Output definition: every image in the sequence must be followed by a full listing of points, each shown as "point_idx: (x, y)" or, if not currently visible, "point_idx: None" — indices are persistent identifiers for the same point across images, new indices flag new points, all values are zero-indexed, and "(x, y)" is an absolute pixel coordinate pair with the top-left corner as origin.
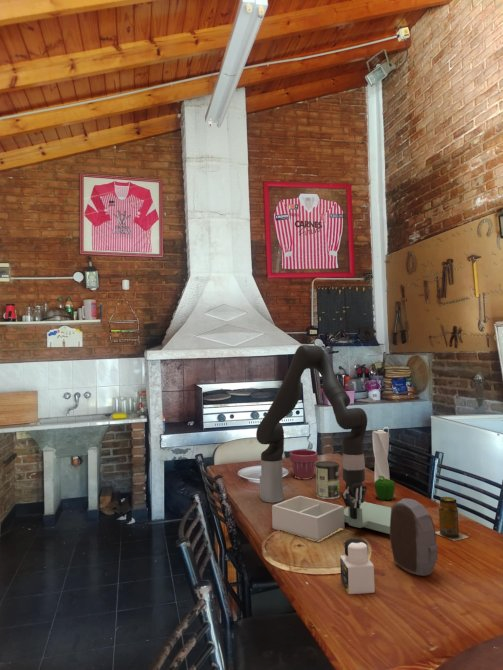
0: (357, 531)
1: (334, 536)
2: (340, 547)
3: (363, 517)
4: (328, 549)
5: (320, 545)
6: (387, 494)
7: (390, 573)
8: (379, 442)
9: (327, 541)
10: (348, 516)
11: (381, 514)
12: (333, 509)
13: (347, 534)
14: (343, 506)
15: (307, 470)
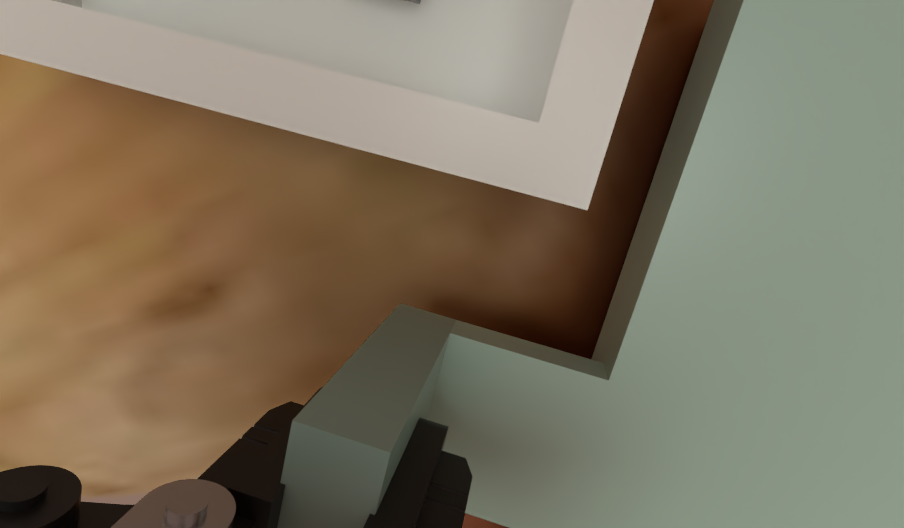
0: (561, 331)
1: (310, 145)
2: (111, 284)
3: (676, 464)
4: (19, 201)
5: (47, 100)
6: None
7: None
8: None
9: (160, 126)
10: (658, 236)
11: None
12: (257, 61)
13: (427, 255)
14: (570, 205)
15: None
